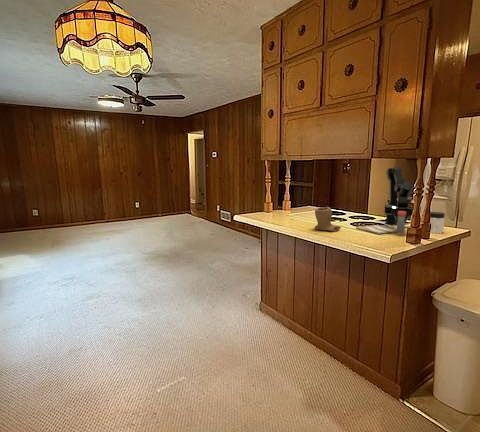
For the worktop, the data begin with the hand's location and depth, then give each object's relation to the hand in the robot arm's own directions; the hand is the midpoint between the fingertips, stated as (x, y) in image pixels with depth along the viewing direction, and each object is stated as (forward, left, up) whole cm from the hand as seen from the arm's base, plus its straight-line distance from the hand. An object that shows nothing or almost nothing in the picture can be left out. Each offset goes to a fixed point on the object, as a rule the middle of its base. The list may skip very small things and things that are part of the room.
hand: (401, 221), depth 173 cm
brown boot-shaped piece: (+30, -30, -9) cm, 43 cm away
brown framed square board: (0, -16, -9) cm, 18 cm away
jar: (-27, +2, -9) cm, 29 cm away
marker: (-1, -1, -7) cm, 7 cm away
